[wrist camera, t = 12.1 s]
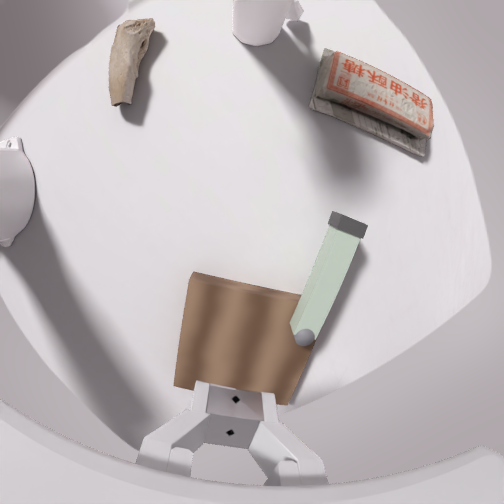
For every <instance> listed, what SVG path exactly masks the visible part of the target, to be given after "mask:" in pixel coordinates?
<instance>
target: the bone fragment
mask: <svg viewBox="0 0 504 504" xmlns="http://www.w3.org/2000/svg"><path fill="white" fill-rule="evenodd" d="M154 28H155V22H154V20H153V19H152V18H150V19H138V20H127V21H125V22H124V23H123V24H121V25H119V26H118V27H117V31H116V36H115V40H114V43H113V46H112V48H111V54H110V63H109V91H110V98H111V105H112V106H116V107H117V106H118V105H120V104H122V103H123V102H126V103H129V104H132V102H131V98H132V96H133V89H134V84H135V79H136V78H137V77H138V69H139V64H140V61H141V59H142V58H143V56H144V55H145V53H146V51H147V49H148V46H149V37H150V35H151V33H152V31H153V30H154ZM129 104H128V105H129Z"/></svg>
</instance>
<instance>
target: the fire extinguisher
mask: <svg viewBox="0 0 504 504" xmlns="http://www.w3.org/2000/svg"><path fill="white" fill-rule="evenodd" d="M303 12H304V10H303V8H302V7H301V5H300V3H299V1H298V0H233V34H234V35H235V36H236V37H237V38H238V39H239V40H240V41H241V42H242V43H245V44H249V45H253V46H260V45H265V44H269V43H272V42H273V40H274V39H275V38H276V37H277V36H278V35H279V34H280V31H281V28H282V26H283V23H284V20H285V18H286V19H290V20H293V21H297V22H298V20H299V18H300V17H301V15H302V14H303Z"/></svg>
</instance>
